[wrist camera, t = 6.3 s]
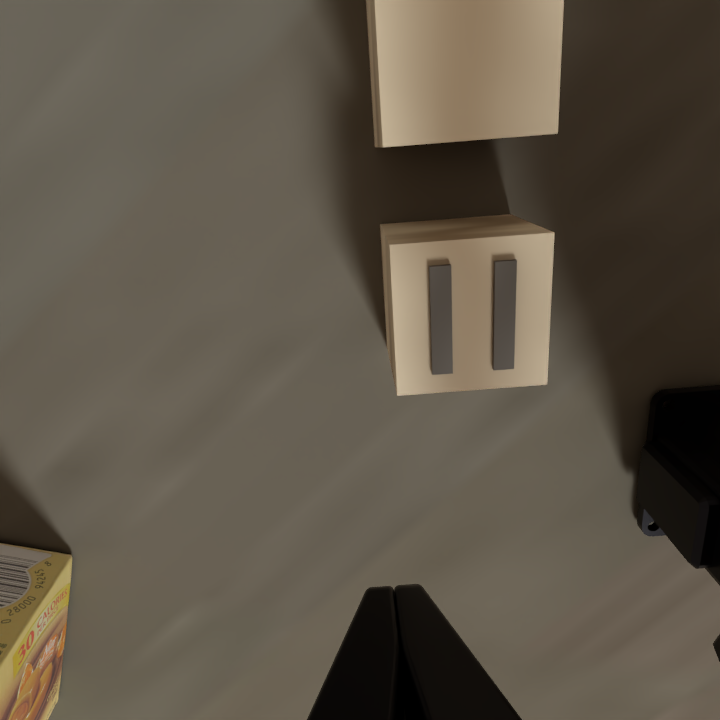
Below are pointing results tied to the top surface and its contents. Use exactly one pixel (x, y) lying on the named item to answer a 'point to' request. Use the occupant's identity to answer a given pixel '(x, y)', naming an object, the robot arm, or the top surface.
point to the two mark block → (467, 303)
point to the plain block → (463, 69)
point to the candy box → (32, 629)
